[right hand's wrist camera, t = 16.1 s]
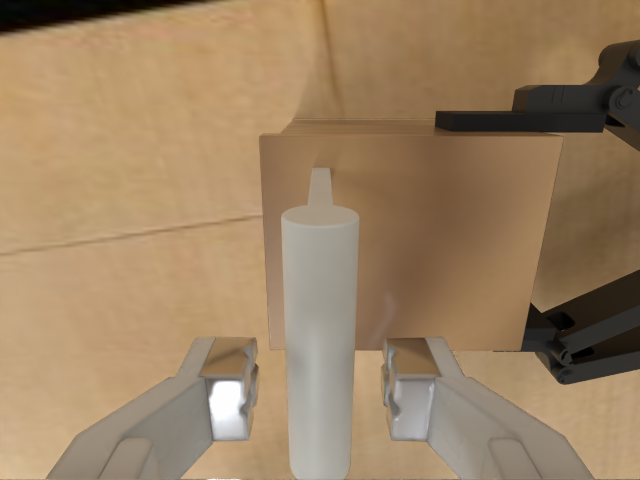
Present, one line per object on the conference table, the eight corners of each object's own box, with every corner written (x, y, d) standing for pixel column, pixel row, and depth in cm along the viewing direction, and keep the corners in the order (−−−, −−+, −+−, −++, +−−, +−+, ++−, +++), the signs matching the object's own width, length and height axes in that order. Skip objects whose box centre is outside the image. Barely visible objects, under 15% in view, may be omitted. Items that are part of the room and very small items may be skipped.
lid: (271, 338, 20) (236, 516, 12) (262, 133, 17) (201, 176, 8) (511, 339, 20) (648, 518, 12) (551, 133, 16) (786, 177, 8)
